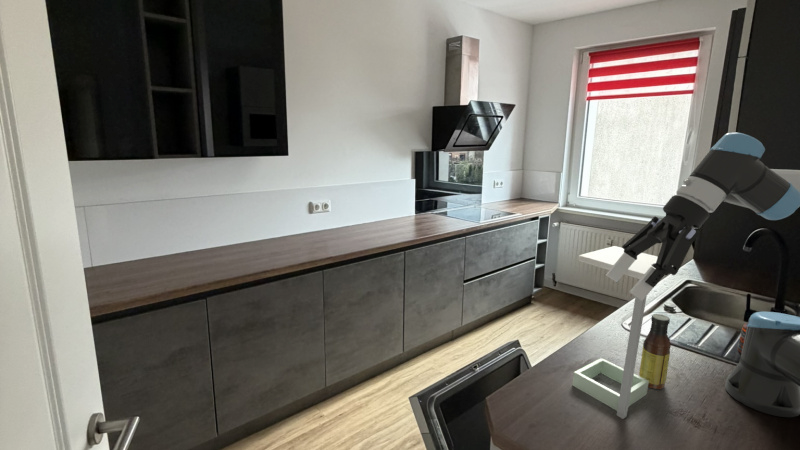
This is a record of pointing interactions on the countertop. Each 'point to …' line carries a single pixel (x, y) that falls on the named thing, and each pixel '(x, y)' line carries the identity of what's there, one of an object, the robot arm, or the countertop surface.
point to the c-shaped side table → (636, 270)
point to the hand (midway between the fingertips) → (622, 287)
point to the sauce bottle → (656, 353)
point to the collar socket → (603, 393)
